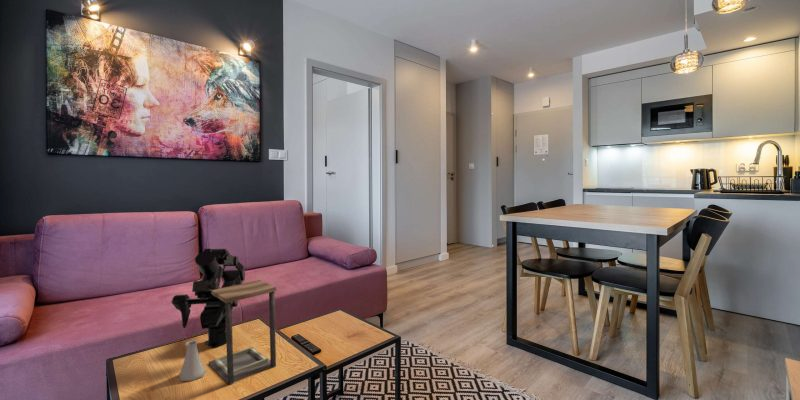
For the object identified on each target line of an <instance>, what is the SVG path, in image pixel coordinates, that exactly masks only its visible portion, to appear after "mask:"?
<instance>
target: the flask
mask: <svg viewBox="0 0 800 400" xmlns="http://www.w3.org/2000/svg"><path fill="white" fill-rule="evenodd" d="M198 343H199V342H198V340H189V341H187V342H186V343H185V347H186V352H185V358H184V361H183V363H182V367H181V368H180V369H181V370H180V372H179V374H178V375H179V376H178V378H179V380H180V381H181V382H188V381H189V382H190V381H194V380H198V379H201V378H202V377H204V375H205V374H206V373H207V369H206V368H205V365H204V364H203V361H202V358H201V357H200V354H199V352H198V345H197V344H198Z"/></svg>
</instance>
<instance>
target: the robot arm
mask: <svg viewBox="0 0 800 400" xmlns="http://www.w3.org/2000/svg"><path fill="white" fill-rule="evenodd" d="M194 258H195V260H194V262H195V264H196V265H197V267H198V269H199V271H200V272H201V274H202V278H201V279H200V280H195V281H193V283H192V289H191V292H192V293H194V296H196V297H190V296H189V294H175V295H173V297H172V299H171V304H172V305H173V306H174V308H175V309H176V310H178V311H179V312H180V315H181V322H182V323H181V324H182V327H183V329H185V328H186V327H187V325H188V322H189V318H190V314H191V309H190V308H191V307H192V305H202V304H203V305H204V304H205V306H204V307H203V309H202V311H201V313H200V316H199V317H200V318H199V320H200V324H201V325H200V326H201V329H202V330H204V329H207V334H208V335H207V336H208V338H207V340H205V341H204V342H203V343H204V344H205V345H207V346H208V347H210V348H211V349H213V348H214V349H215V348H217V347H221V346H222V345H225V344H226V312H225V302H223V301H222V300H220V299H218V298H217V297H215V296H214V295H212V292H211V290H215V289H220V288H225V287H229V286H234V285H239V284H243V283H244V281H245V279H246V272H245V266H244V265H243V263H241V262H240V261H239V258H238V256H237V255H232V254H230V251H229V250H228V249H227V248H204V250H203V251H202V252H200V253H199V254H197V255H196V257H194ZM226 267H235V268H236V269H226ZM221 282H222V285H221ZM220 286H221V287H220ZM231 303H232V310H233V309H234V308H237V307H238V306H239V300H237V301H233V302H231Z"/></svg>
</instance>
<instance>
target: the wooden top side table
mask: <svg viewBox="0 0 800 400" xmlns="http://www.w3.org/2000/svg"><path fill="white" fill-rule="evenodd" d="M276 291H277V286H274V285H273V284H270V283H267V282H266V281H263V280H261V279H259V280H253V281H248V282H243V283H242V284H239V285H234V286H229V287H225V288H221V287H220V289H215V290H211V292H212V295H214V296H215V297H217V298H218V299H220V300H222V301H223V302H225V312H226V343H225V344H226V355H223V356H220V357H218V358H214V359H213V360H210V361H208V365H210V367H212V368H213V370H214V371H215V372H217V374H219V376H221V378H223V379H224V381H225V382H226V383H227V385H228V386H231V385H233V384H235V382H236V381H237V382H238V381H239V380H241V379H244V378H245V379H246V378H248V377H249V376H252V375H255V374H257V373H260V372H263V371H265V370H268V369H270V368H275V367H276V366H277V352H276V350H277V347H276V346H277V345H276V308H275V307H276V305H275V304H276V302H275V298H276V297H275V294H276ZM265 294H268V306H269V307H268V308H269V309H268V310H269V313H268V314H269V353H270V355H269V356H270V357H269V358H270V359H269V358H268V357H266V356H265V355H264V354H263V353H261V352H260V351H259V350H257V349H255V348H254V347H253V346H250V347H247V348H244V349H241V350H238V351H235V352H234V347H233V345H234V342H233V340H234V339H233V309H232V303H231V302H233V301H237V300H238V301H241V300H245V299H250V298H253V297H254V298H255V297H257V296H261V295H265Z"/></svg>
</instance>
